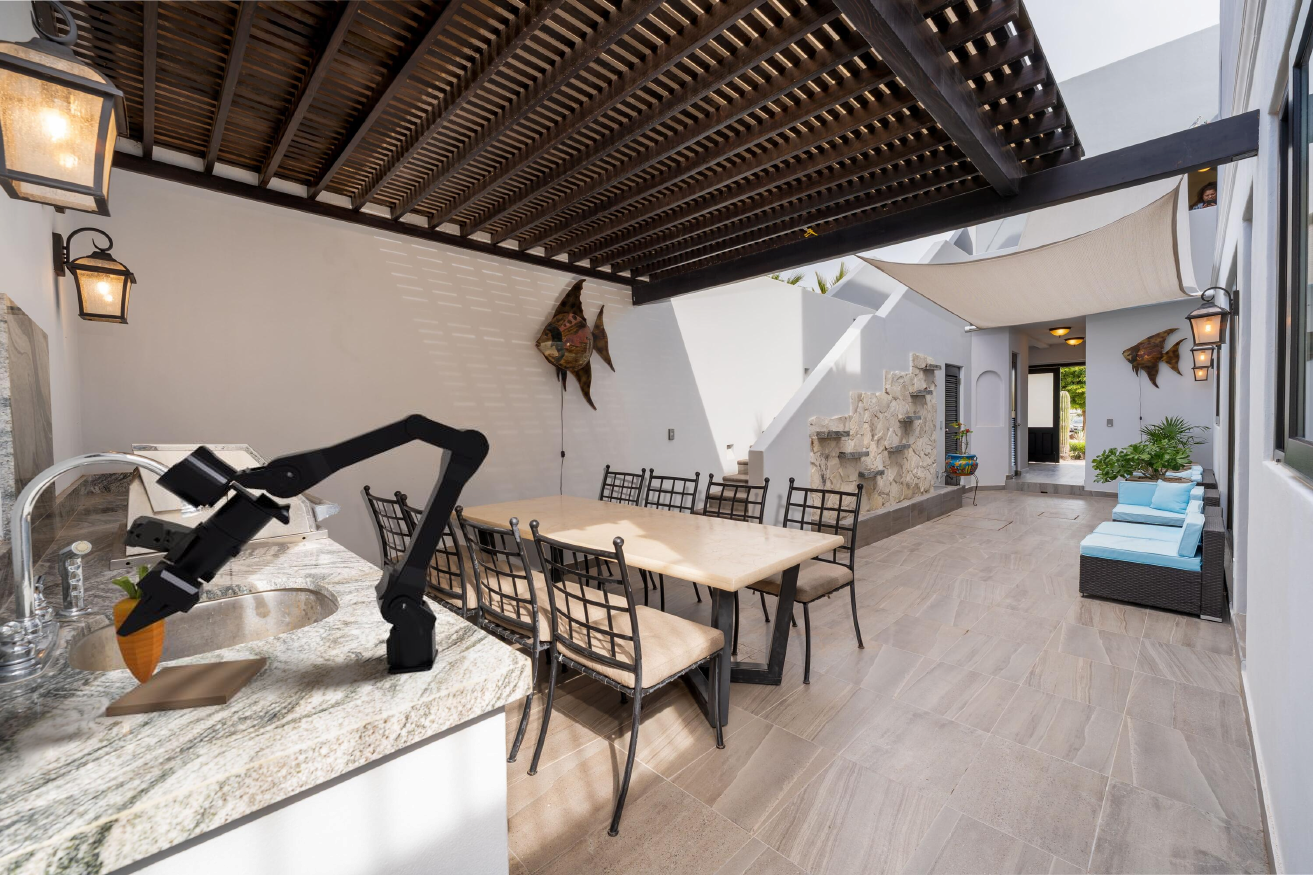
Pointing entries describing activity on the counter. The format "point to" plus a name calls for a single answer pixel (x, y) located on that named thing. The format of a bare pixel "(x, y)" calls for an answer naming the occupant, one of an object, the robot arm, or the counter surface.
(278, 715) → the counter surface
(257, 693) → the counter surface
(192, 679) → the walnut board
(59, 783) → the counter surface
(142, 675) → the carrot
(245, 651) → the counter surface
